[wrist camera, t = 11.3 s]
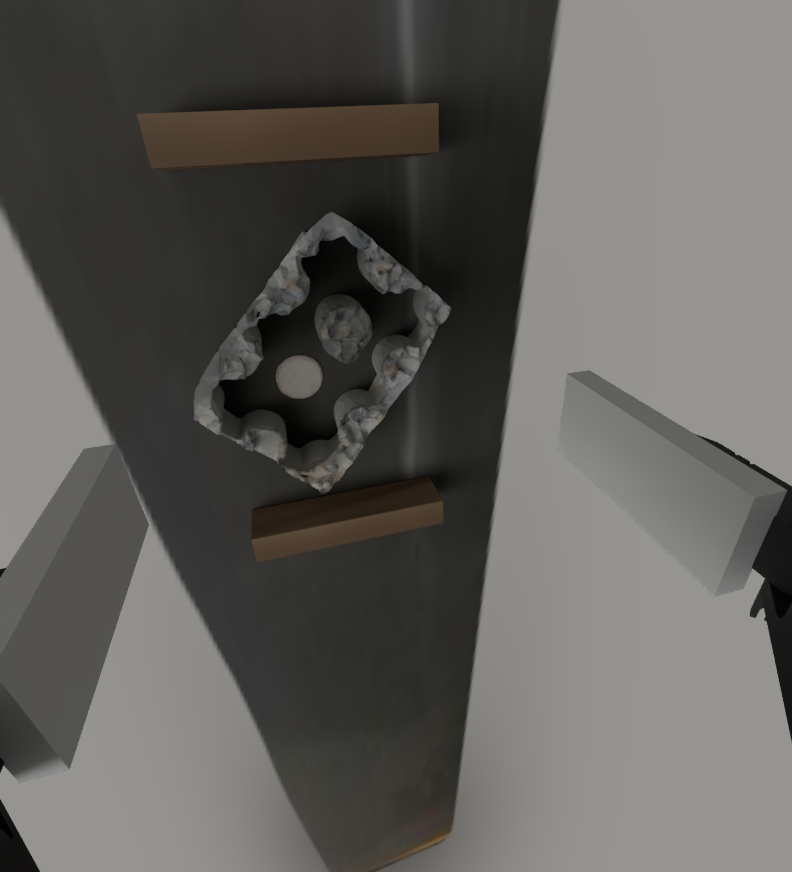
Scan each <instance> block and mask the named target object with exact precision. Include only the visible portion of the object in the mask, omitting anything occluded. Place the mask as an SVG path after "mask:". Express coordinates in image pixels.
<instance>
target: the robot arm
mask: <svg viewBox="0 0 792 872" xmlns="http://www.w3.org/2000/svg"><path fill="white" fill-rule="evenodd" d="M557 449H558V450H559V451H560V452H561V453H562V454H563V455H564V456H565V457H566V458H567V459H568V460H570V461H571V462H572V463H573V464H574V465H575V466H576V467H577V468H578V469H579V470H580V471H581V472H582V473H583V474H585V476H587V477H588V478H589V479H590V480H591V481H592V482H593V483H594V484H595V485H596V486H597V487H598V488H599V489H600V490H601V491H603V492H604V493H605V494H606V495H607V496H608V497H609V498H610V499H611V500H612V501H613V502H614V503H615V504H616V505H617V506H619V507H620V508H621V509H622V510H623V511H624V512H625V513H626V514H627V515H628V516H629V517H630V518H631V519H632V520H633V521H635V522H636V523H637V524H638V525H639V526H640V527H641V528H642V529H643V530H644V531H645V532H646V533H647V534H648V535H649V536H651V537H652V538H653V539H654V540H655V541H656V542H657V543H658V544H659V545H660V546H661V547H662V548H663V549H665V550H666V551H667V552H668V553H669V554H670V555H671V556H672V557H673V558H674V559H675V560H676V561H677V562H678V563H680V565H681V566H683V567H684V568H685V569H686V570H687V571H688V572H689V573H690V574H691V575H692V576H693V577H694V578H695V579H696V580H697V581H699V582H700V583H701V584H702V585H703V586H704V587H705V588H706V589H707V590H708V591H709V592H710V593H711V594H713V596H718V595H722V594H726V593H729V592H733V591H737V590H741V589H743V588H744V586H745V584H746V582H747V579H748V577H749V575H750V572H751V570H752V568H753V569H754V570H756V571H757V572H758V573H759V574H761V575H762V576H763V577H764V578H765V580H764V582H763V584H762V586H761V589H760V591H759V593H758V595H757V597H756V599H755V601H754V604H753V606H752V608H751V611H750V616H751V617H754V618H756V616H757V614H758V612H759V610H760V609H762V608H764V610H765V615H766V617H765V619H764V620H765V621H767V625H768V629H769V634H770V639H771V644H772V649H773V654H774V658H775V663H776V668H777V673H778V677H779V682H780V687H781V692H782V697H783V702H784V707H785V711H786V716H787V721H788V726H789V730H790V735H791V740H792V487H791V486H790V485H788V484H787V483H785V482H783V481H782V480H780V479H778V478H777V477H775V476H773V475H772V474H770V473H768V472H767V471H765V470H763V469H761V468H760V467H758V466H756V465H755V464H750V461H748V460H746V459H745V458H743V457H741V456H739V455H735V453H734V452H732V451H731V450H729V449H728V448H726V447H724V446H723V445H721V444H719V443H718V442H715V441H712V440H710V439H707V438H704V437H701V436H698V435H696V434H693V433H692V432H690V431H688V430H686V429H685V428H684V427H682V426H680V425H679V424H677V423H675V422H674V421H672V420H670V419H669V418H667V417H665V416H664V415H662V414H660V413H659V412H657V411H655V410H654V409H652V408H651V407H649V406H647V405H645V404H644V403H642V402H640V401H639V400H637V399H636V398H634V397H632V396H631V395H629V394H627V393H626V392H624V391H622V390H621V389H619V388H617V387H616V386H614V385H612V384H611V383H609V382H607V381H606V380H604V379H602V378H601V377H599V376H598V375H596V374H594V373H593V372H591V371H589V370H588V371H582V372H575V373H569V374H567V379H566V386H565V394H564V401H563V408H562V415H561V423H560V430H559V437H558V445H557ZM148 525H149V524H148V522H147V519H146V517H145V514H144V512H143V509H142V507H141V505H140V502H139V500H138V497H137V495H136V492H135V490H134V487H133V485H132V483H131V480H130V478H129V475H128V473H127V470H126V468H125V465H124V463H123V461H122V458H121V456H120V453H119V451H118V448H117V446H116V444H112V445H106V446H100V447H93V448H87V449H84V450H83V451H82V453H81V454H80V456H79V457H78V459H77V460H76V462H75V463H74V465H73V466H72V468H71V469H70V471H69V473H68V474H67V476H66V478H65V479H64V480H63V482H62V483H61V485H60V487H59V488H58V489H57V491H56V493H55V494H54V496H53V497H52V499H51V500H50V502H49V503H48V505H47V506H46V508H45V510H44V511H43V513H42V514H41V516H40V517H39V519H38V520H37V522H36V523H35V525H34V526H33V528H32V530H31V531H30V533H29V534H28V536H27V537H26V539H25V540H24V542H23V543H22V545H21V547H20V548H19V550H18V551H17V553H16V554H15V556H14V557H13V559H12V560H11V562H10V563H9V565H8V566H7V568H4V569H0V772H1V770H2V767H3V765H4V766H5V767H6V768H7V769H8V770H9V772H10V773H11V774H12V775H13V776H14V777H15V778H16V779H17V780H18V781H19V782H20V783H21V782H25V781H28V780H32V779H36V778H40V777H43V776H47V775H51V774H55V773H58V772H62V771H66V770H69V769H70V766H71V763H72V760H73V757H74V754H75V751H76V748H77V745H78V741H79V738H80V735H81V732H82V729H83V726H84V723H85V720H86V717H87V713H88V710H89V708H90V705H91V701H92V698H93V695H94V692H95V689H96V686H97V683H98V680H99V677H100V673H101V670H102V668H103V664H104V661H105V658H106V655H107V652H108V649H109V646H110V643H111V640H112V637H113V634H114V631H115V628H116V624H117V621H118V618H119V615H120V612H121V609H122V606H123V603H124V600H125V596H126V594H127V591H128V587H129V584H130V581H131V578H132V575H133V572H134V569H135V566H136V563H137V560H138V557H139V554H140V550H141V547H142V544H143V541H144V538H145V535H146V532H147V529H148ZM0 872H40V871H39V869H38V867H37V865H36V863H35V862H34V860H33V858H32V856H31V854H30V852H29V851H28V849H27V847H26V845H25V843H24V842H23V840H22V838H21V836H20V834H19V832H18V831H17V829H16V827H15V825H14V823H13V821H12V820H11V818H10V816H9V814H8V813H7V811H6V809H5V807H4V805H3V803H2V801H1V800H0Z"/></svg>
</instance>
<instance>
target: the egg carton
mask: <svg viewBox="0 0 792 872" xmlns="http://www.w3.org/2000/svg"><path fill="white" fill-rule="evenodd" d="M341 236H344V237H345V238H346V239H347V240H348V241H349V242H350V243H351V244H352V245H353V246H355V247H356V248H358V250H357V262H358V267H359V270H360V272H361V273H362V275H363V276H364V278H366V279H367V280H368V281H369V282H370V283H371V284H372V285H373V286H374V288H375V289H377V290H378V291H379V292H381V293H382V294H385V293H386V292H388V291H390V292H394V293H395V294H399V293H402V292H403V291H405V290H406V289H407V288H413V289H414V290H416V291H415V294H414V297H413V308H414V312H415V314H416V315H417V317H418V318H419V322H418V324H417V326H416V328H415V329H414V330H413V332H412V333H411V334H410V335H409V336H408V337H405V336H402V335H390V336H386V337H384V338H383V339H382V340H381V341H379V342H378V343H377V345H376V346H375V348H374V351H373V354H372V363H373V366H374V369H375V371H376V373H377V375H376V377H375V378H374V381H373V383H372V385H371V387H370V389H369V390H368V391H366V390H363V389H353V390H350V391H347V392H345V393H343V394H342V395H341V396H340V397H339V398H338V399H337V401H336V403H335V406H334V418H335V421H336V424H337V427H338V432H337V433H336V435H335V436H334V437H333V438H331V439H330V440H328V441H327V440H314V441H311V442H309V443H307V444H306V445H304V446H303V447H301V448H299V449H298V448H296V447H294V446H292V445H290V444H288V443H287V434H286V425H285V423H284V421H283V419H282V418H281V417H280V416H279V415H278V414H276V413H274V412H271V411H268V410H262V409H261V410H255V411H252V412H250V413H248V414H246V415H245V416H244V417H243V418H237V417H235V416H234V415H233V414H231V413H229V412H228V411H226V410H225V409H224V400H225V398H224V392H223V390H222V388H221V387H220V385H219V382H220V381H221V380H226V379H231V380H238V379H245V378H246V377H247V376H249V375H251V374H252V373H253V372H254V371H255V370H256V369H257V367H258V365H259V363H260V362H261V360H264V358H263V353H262V340H261V334H260V332H259V329H258V327H257V323H258V320H259V319H262V318H264V319H265V318H267V317H268V316H269V315H270V314H279V315H281V316H282V315H288V314H290V313H291V311H292V310H293V309H294V308H296V307H298V306H299V305H301V304H302V303H304V302H305V301H306V298H307V296H308V293H309V289H310V280H309V278H308V276H307V274H306V273H305V271H304V270H303V268H302V264H301V259H302V257H309V256H315V255H316V254H317V253H318V251H319V245H318V244H319V243H320V241H331V240H335V239H336V238H339V237H341ZM361 305H362V304H361ZM361 305H360V304H359V302H358V301H356V300H355V299H354V298H352V297H350V296H347V295H343V294H335V295H330V296H327V297H326V298H324V299H323V300H322V301H321V302H320V303H319V305H318V306H317V308H316V312H315V326H316V330H317V333H318V335H319V338H320V340H321V342H322V345H323V347H324V349H325V350H326V351H327V352H328V353H329V354H330V355H332V356H333V357H335V358H336V359H338V360H339V361H341V362H343V363H345V364H350V363H353V362H354V361H356V360H357V359H358V358H359V356H360V354H361V352H362V350H363V349H364V347H365V346H366V345H367V343H368V342H369V341H370V339H371V337H372V324H371V320H370V317H369V315H368V314H367V313H366V311H365V310H364V309H363V307H362V306H361ZM365 308H366V307H365ZM450 311H451V307H450V306H448V305H447V304H446V303H445V302H444V301H443V300H442V299H441V298H440V297H439V296H438V295H437V294H436V293H435V292H434V291H433V290H431V289H430V288H429V287H427V286H425V285H423V284H422V283H421V282H420V281H419V280H418V279H417V278H416V277H415V276H414V275H413V274H412V273H411V272H410V271H409V270H408V269H406V268H405V267H404V266H402V265H400V264H399V263H398V262H397V261H396V260H395V259H394V258H393V257H392V256H391V255H389V254H388V253H387V252H386V251H384V250H383V249H382V248H381V247H379V246H378V245H377V244H376V243H375V242H374V240H373V239H372V238H371V237H369V236H368V235H367V234H366V233H364V232H363V231H362V230H360V229H359V228H357V227H356V226H354V225H353V224H352V223H350V222H349V221H347V220H345V219H344V218H342V217H340V216H338V215H337V214H335V213H333V212H331V213H329V214H326V215H325V216H324V217H323V218H322V219H321V220H319V221H318V222H317V223H316V224H315V225H314V226H313V227H312V228H311V229H310V230H309V231H308V232H305V231H303V232H302V233H301V234H300V236H299V237H298V238H297V240H296V242H295V243H294V245H293V247H292V249H291V250H290V252H289V253H288V254H287V256H286V257H285V258H284V260H283V261H282V262H281V264H280V266H279V268H278V269H277V270H276V271H275V272H274V273H273V274H272V276H271V277H270V278H269V280H268V282H267V284H266V287H265V289H264V290H263V292H262V293H261V294H260V295H259V296H258V297H257V298H256V299H255V300H254V302H253V303H252V304H251V305H250V307H249V308H248V310H247V311H246V313H245V314H244V316H243V317H242V318H241V320H240V321H239V323H238V324H237V325H236V327H235V328H234V329H233V331H232V332H231V333H230V335H229V336H228V337H227V339H226V340H225V341H224V342H223V344H222V345H221V346H220V347H219V349H218V350H217V352H216V354H215V355H214V357H213V359H212V360H211V362H210V364H209V366H208V367H207V369H206V371H205V372H204V374H203V376H202V378H201V380H200V381H199V383H198V385H197V387H196V389H195V395H194V420H195V421H197V422H198V423H200V424H202V425H204V426H205V427H207V428H208V429H210V430H211V431H213V432H214V433H216V434H218V435H220V434H221V435H223V436H225V437H227V438H229V439H231V440H233V441H235V442H237V443H238V444H240V445H241V446H242V447H243V448H245V449H246V450H248V451H251V452H253V451H254V449H255V450H257V451H258V452H260V453H262V454H264V455H266V456H268V457H270V458H272V459H274V460H275V461H277V463H278V464H279V465H280V466H281V467H282V468H283V469H284V470H285V471H286V472H288V473H289V474H291V475H292V476H294V477H296V478H298V479H299V480H301V481H303V482H306V483H308V484H309V485H311V486H312V487H314V488H316V489H318V490H319V492H320V493H321V494H322V495H323V494H325V493H327V492H328V491H329V490H330V489H331V487H332V486H333V484H334V483H335V482H338V481H339V480H340V478H341V477H342V476H343V475H344V473H345V471H346V469H347V468H348V467H349V466H350V465H351V464H353V462H354V460H355V459H356V457H357V456H358V455H359V453H360V451H361V450H362V448H363V447H364V444H365V439H366V437H367V436H368V435H369V433H370V432H371V431H372V430H373V429H374V428H375V427H376V426H377V425H378V424H379V423H380V422H381V421H382V420H383V418H384V417H385V416H386V413H387V411H388V409H389V407H390V406H391V405H392V404H393V402H394V401H395V400H396V399H397V397H398V396H399V395H400V393H401V392H402V391H403V390H404V388H405V387H406V386H407V385H408V384H409V383H410V382H411V381H412V379H413V377H414V375H415V373H416V372H417V370H418V368H419V366H420V364H421V362H422V360H423V359H424V357H425V354H426V352H427V349H428V347H429V346H430V344H431V343H432V341H433V339H434V336H435V333H436V330H437V328H438V326H439V325H440V324H442V323H444V322H445V321H446V319H447V317H448V316H449V314H450ZM258 312H260V315H259V317H258V318H257V314H258ZM322 381H323V372H322V368H321V366H320V365H319V363H318V362H317V361H316V360H315V359H314V358H312V357H310V356H307V355H294V356H290V357H288V358H287V359H285V360H284V361H282V362H281V363H280V365H279V366H278V368H277V371H276V382H277V385H278V388H279V389H280V391H281V392H282V393H284V394H285V395H287V396H289V397H291V398H297V399H304V398H307V397H309V396H312V395H313V394H314V393H315V392H317V391H318V390H319V388H320V386H321V385H322Z"/></svg>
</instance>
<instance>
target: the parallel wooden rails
mask: <svg viewBox="0 0 792 872" xmlns="http://www.w3.org/2000/svg"><path fill="white" fill-rule="evenodd" d="M137 117H138V121H139V124H140V128H141V132H142V135H143V139H144V143H145V147H146V150H147V154H148V158H149V161H150V165H151V169H157V170H164V171H167V170H184V169H201V168H218V167H236V166H253V165H270V164H287V163H305V162H322V161H339V160H356V159H373V158H391V157H408V156H421V155H427V154H432V153H438V152H439V103H424V104H397V105H369V106H342V107H314V108H287V109H259V110H232V111H204V112H177V113H149V114H137ZM440 523H443V500H442V498H441V496H440V495H439V493H438V491H437V489H436V488H435V486H434V484H433V482H432V481H431V479H430V477H429V476H427V477H422V478H416V479H411V480H406V481H401V482H396V483H390V484H385V485H380V486H375V487H369V488H364V489H359V490H354V491H349V492H343V493H338V494H333V495H328V496H323V497H317V498H312V499H307V500H302V501H297V502H291V503H286V504H281V505H276V506H270V507H265V508H260V509H255V510H252V533H251V541H252V544H253V548H254V552H255V555H256V559H257V562H262V561H266V560H271V559H276V558H281V557H285V556H290V555H295V554H299V553H304V552H309V551H313V550H318V549H323V548H328V547H332V546H337V545H342V544H346V543H351V542H356V541H360V540H365V539H370V538H375V537H379V536H384V535H389V534H393V533H398V532H403V531H407V530H412V529H417V528H422V527H426V526H431V525H436V524H440Z"/></svg>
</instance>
